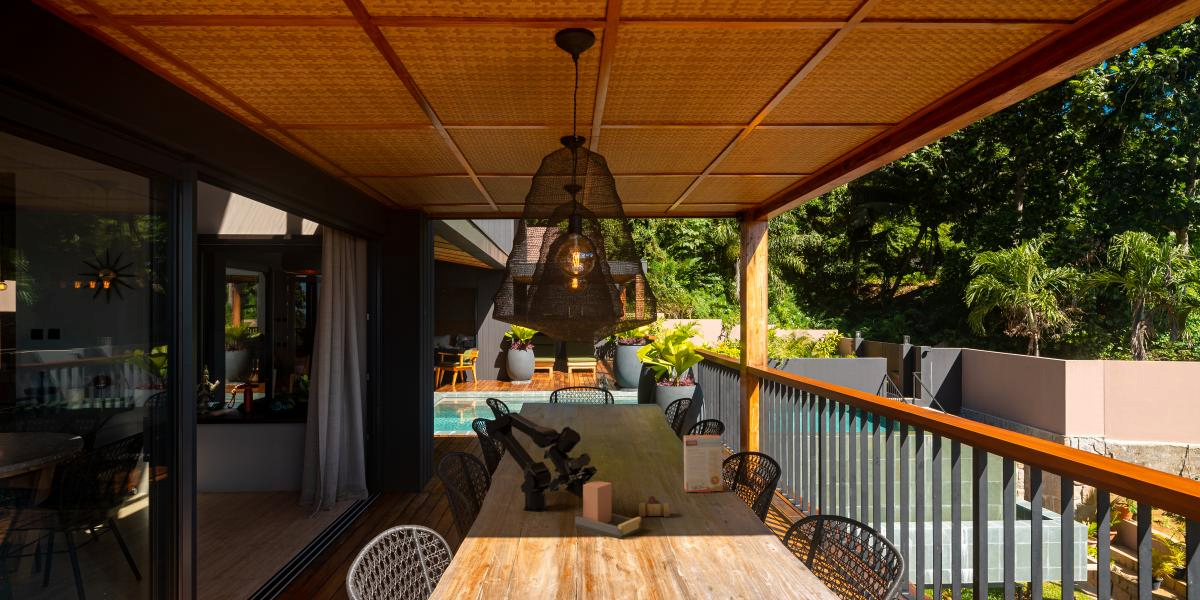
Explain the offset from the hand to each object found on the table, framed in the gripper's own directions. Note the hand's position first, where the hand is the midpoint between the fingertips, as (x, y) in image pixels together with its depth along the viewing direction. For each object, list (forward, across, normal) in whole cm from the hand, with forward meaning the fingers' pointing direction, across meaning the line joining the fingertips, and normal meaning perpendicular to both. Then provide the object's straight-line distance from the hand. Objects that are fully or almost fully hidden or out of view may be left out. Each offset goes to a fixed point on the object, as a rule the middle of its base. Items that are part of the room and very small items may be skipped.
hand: (587, 500), depth 210 cm
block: (+7, 0, +1) cm, 7 cm away
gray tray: (+11, 0, -1) cm, 11 cm away
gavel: (+11, +26, 0) cm, 28 cm away
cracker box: (+12, +56, -2) cm, 58 cm away
